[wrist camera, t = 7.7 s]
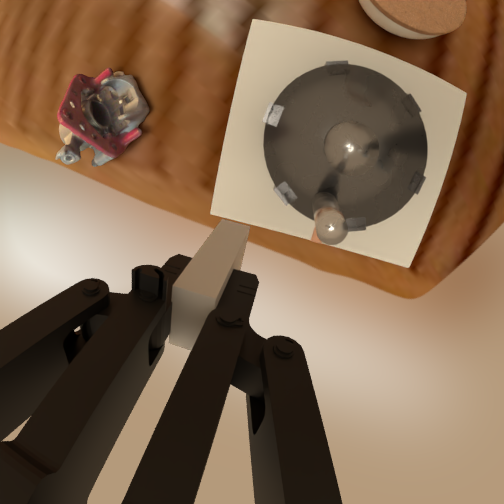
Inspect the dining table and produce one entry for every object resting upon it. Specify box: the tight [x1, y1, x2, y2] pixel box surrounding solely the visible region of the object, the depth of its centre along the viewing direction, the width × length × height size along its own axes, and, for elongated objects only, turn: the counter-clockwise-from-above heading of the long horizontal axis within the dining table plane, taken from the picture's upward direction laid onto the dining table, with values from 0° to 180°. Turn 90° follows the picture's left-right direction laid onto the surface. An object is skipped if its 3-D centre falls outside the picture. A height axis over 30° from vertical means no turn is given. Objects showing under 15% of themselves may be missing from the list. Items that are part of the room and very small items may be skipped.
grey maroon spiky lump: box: [56, 68, 149, 167], centre depth 27 cm, size 11×11×12 cm
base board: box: [210, 19, 467, 268], centre depth 28 cm, size 24×22×2 cm
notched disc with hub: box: [262, 60, 428, 245], centre depth 23 cm, size 16×17×9 cm
